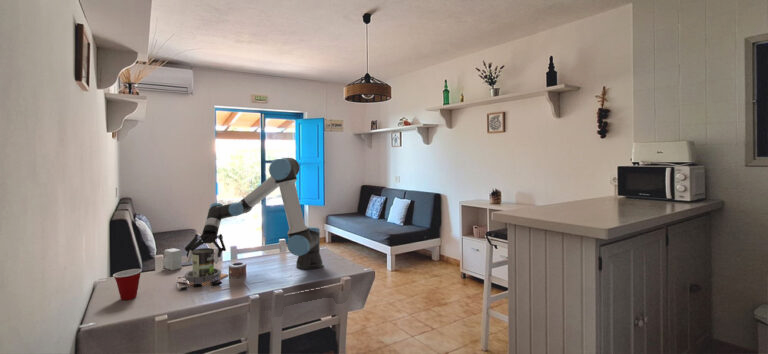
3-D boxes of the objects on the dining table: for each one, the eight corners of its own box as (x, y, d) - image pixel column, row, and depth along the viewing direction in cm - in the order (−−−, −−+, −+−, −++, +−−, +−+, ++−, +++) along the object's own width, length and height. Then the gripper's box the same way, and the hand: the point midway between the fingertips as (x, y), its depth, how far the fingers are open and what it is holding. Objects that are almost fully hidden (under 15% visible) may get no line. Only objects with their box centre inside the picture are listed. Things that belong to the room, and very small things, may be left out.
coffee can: (217, 274, 203) (217, 248, 202) (208, 280, 193) (208, 253, 192) (198, 273, 203) (198, 247, 202) (188, 280, 193) (187, 252, 192)
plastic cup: (122, 293, 176) (121, 268, 175) (147, 293, 177) (146, 268, 176) (107, 302, 165) (106, 275, 164) (133, 302, 166) (133, 275, 165)
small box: (182, 268, 216) (181, 249, 216) (172, 270, 212) (171, 251, 211) (174, 265, 221) (174, 247, 220) (164, 268, 216) (164, 249, 215)
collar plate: (228, 276, 204) (228, 269, 203) (204, 286, 187) (204, 279, 187) (202, 272, 209) (202, 266, 208) (176, 282, 192) (176, 275, 192)
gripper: (236, 231, 214) (228, 265, 200) (189, 232, 212) (178, 266, 198) (233, 223, 209) (225, 258, 195) (185, 224, 206) (174, 259, 192)
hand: (201, 262), depth 196 cm, fingers open, 13 cm apart
